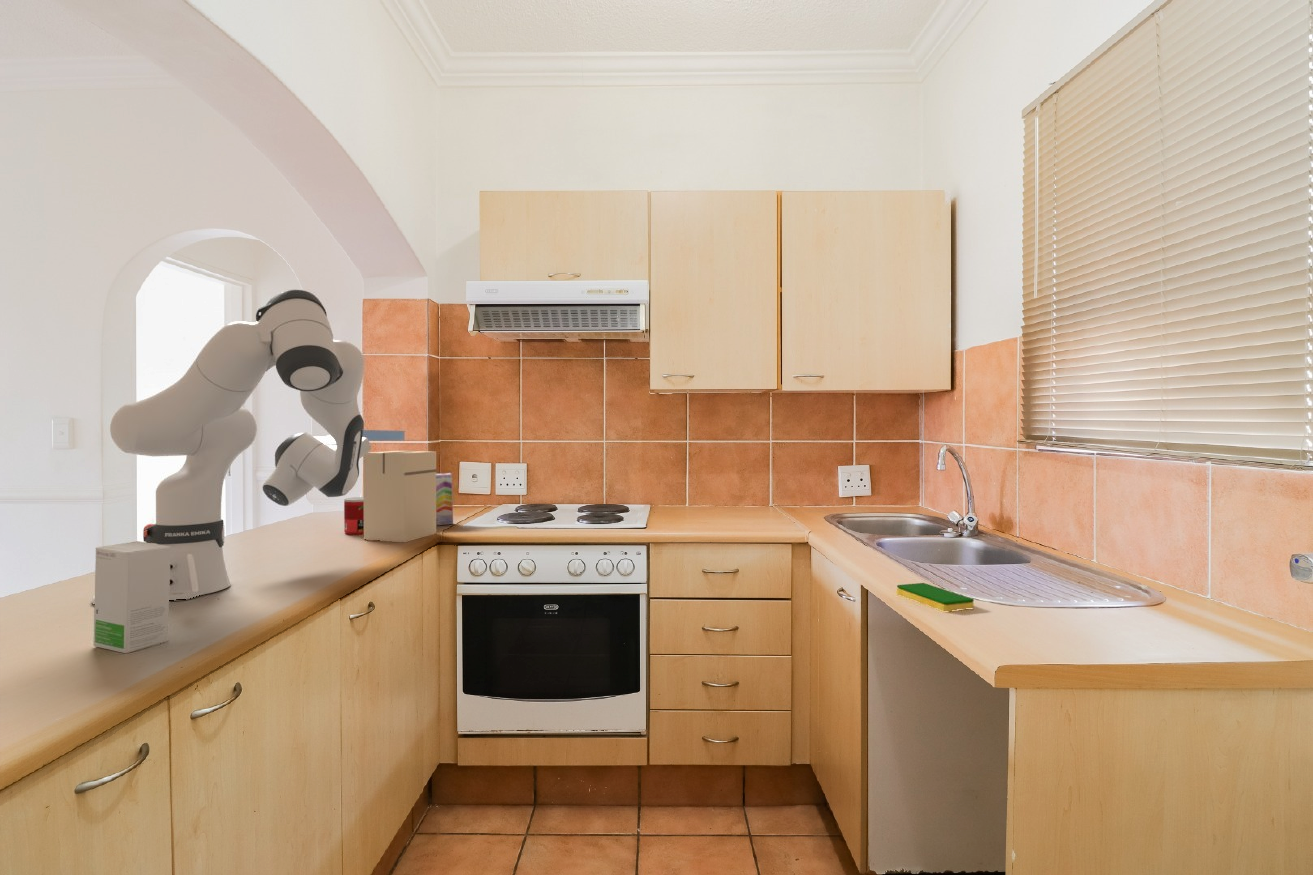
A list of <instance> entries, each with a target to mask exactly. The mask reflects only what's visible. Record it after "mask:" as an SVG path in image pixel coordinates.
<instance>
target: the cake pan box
mask: <svg viewBox="0 0 1313 875" xmlns="http://www.w3.org/2000/svg"><path fill="white" fill-rule="evenodd" d="M453 496H454V495H453V474H452V473H451V472H448V473H444V472H443V473H436V526H443V525H444V526H445V525H453V524H454V509H453V508H454V502H453V501H454V499H453Z"/></svg>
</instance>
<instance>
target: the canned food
mask: <svg viewBox="0 0 1313 875" xmlns="http://www.w3.org/2000/svg"><path fill="white" fill-rule="evenodd" d="M343 502H344V504H343V505H344V506H343V515H344V516H343V517H344V518H343V520H344V522H343V523H344V525H343V526H344V527H343V528H344V534H345V535H348V536H360V535H361V536H362V534H363V535H364V496H363V497H362V496H359V497H356V496H354V497H346V498H344V501H343Z"/></svg>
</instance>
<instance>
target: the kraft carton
mask: <svg viewBox="0 0 1313 875" xmlns="http://www.w3.org/2000/svg"><path fill="white" fill-rule="evenodd" d="M362 459H363V497H364V534H363V540H364V539H366V540H365V541H373V540H380V541H379V542H390V541H391V542H392V543H394V542H395V543H408V542H411V541H414V540H418V539H422V538H425V537H429V536H433V535H436V534H437V525H436V474H437V451H436V450H435V451H432V450H431V451H429V450H428V451H427V450H390V451H389V450H387V451H371V452H370V451H369V452H368V453H367V454H365V455H364V456H363V458H362Z"/></svg>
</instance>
